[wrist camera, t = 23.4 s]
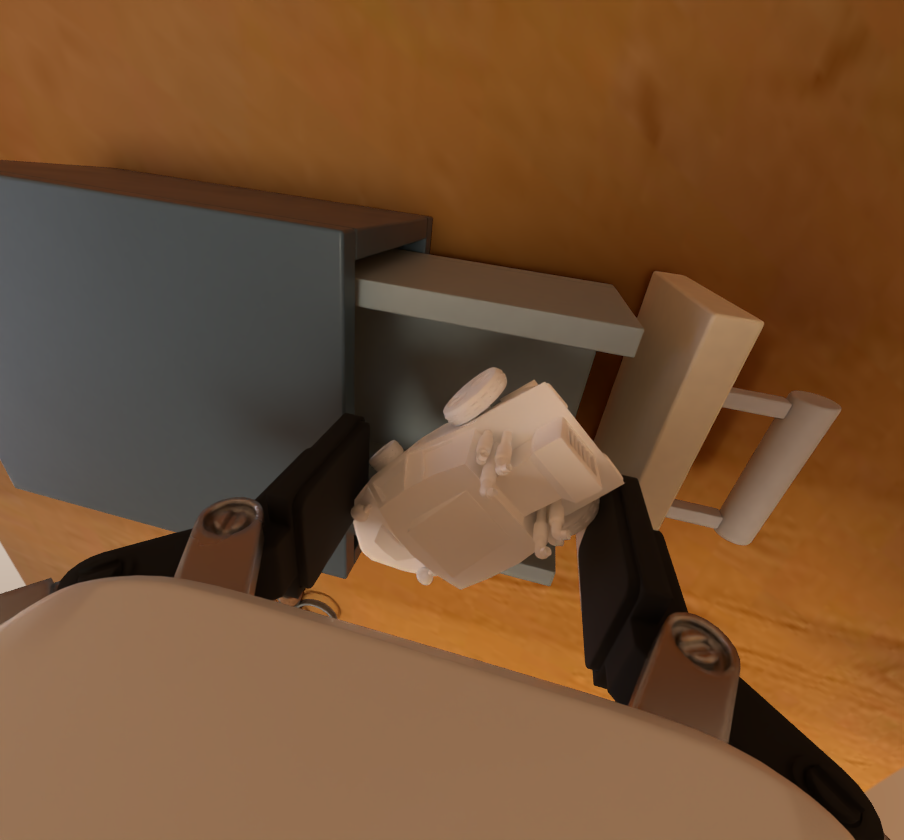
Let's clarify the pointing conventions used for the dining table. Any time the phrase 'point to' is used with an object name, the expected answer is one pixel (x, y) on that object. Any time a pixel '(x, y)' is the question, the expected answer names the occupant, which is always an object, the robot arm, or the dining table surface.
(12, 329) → the cabinet
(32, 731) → the robot arm
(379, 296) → the drawer
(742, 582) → the dining table surface
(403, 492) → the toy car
